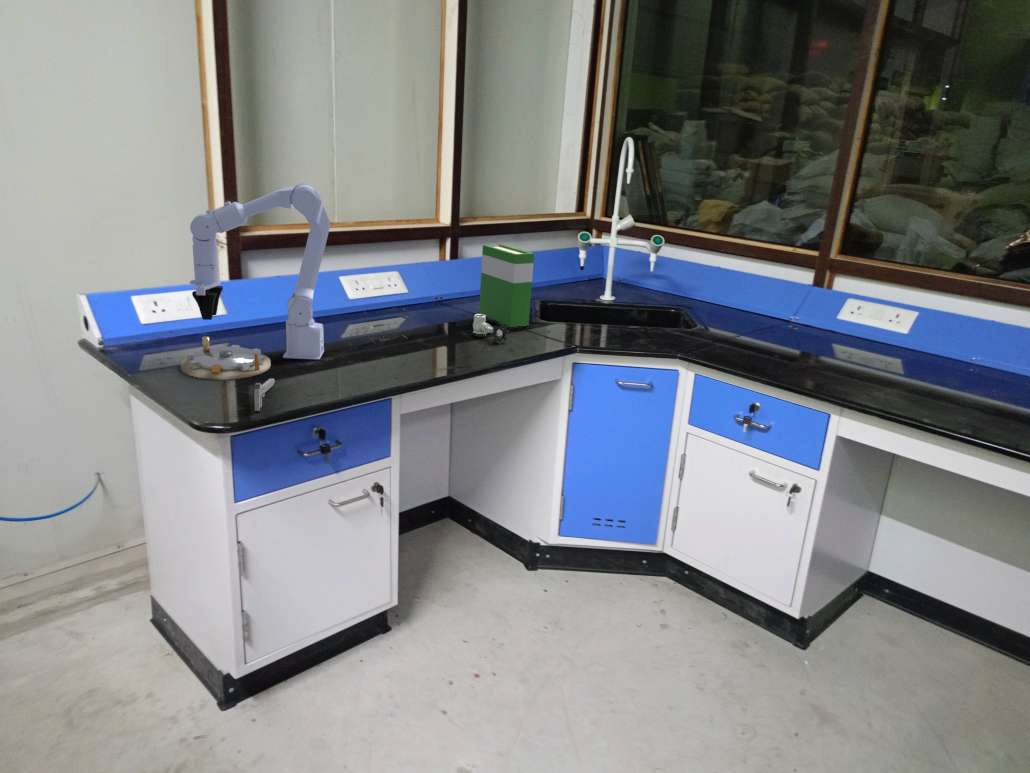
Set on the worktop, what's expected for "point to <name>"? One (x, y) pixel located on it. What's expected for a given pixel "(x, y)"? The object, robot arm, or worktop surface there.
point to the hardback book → (506, 284)
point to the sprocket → (223, 358)
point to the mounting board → (228, 374)
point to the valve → (489, 328)
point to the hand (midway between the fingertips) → (209, 317)
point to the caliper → (261, 392)
